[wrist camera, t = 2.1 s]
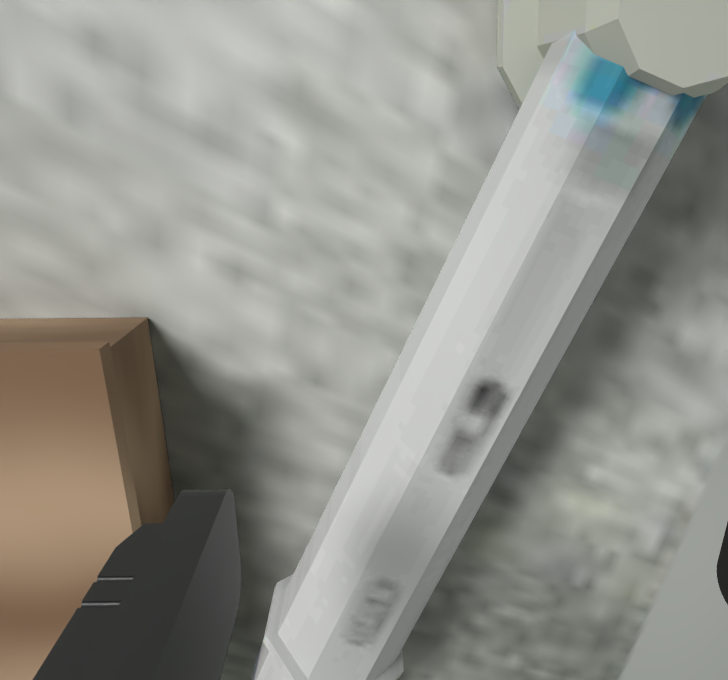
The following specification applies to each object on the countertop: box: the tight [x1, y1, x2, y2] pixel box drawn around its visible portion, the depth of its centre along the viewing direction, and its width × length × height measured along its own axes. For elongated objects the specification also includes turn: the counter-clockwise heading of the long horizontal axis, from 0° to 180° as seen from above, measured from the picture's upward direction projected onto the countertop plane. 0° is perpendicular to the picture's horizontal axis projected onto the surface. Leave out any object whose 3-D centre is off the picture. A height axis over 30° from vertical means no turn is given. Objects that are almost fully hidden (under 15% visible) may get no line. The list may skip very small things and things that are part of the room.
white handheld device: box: [252, 0, 728, 680], centre depth 14 cm, size 5×7×25 cm
